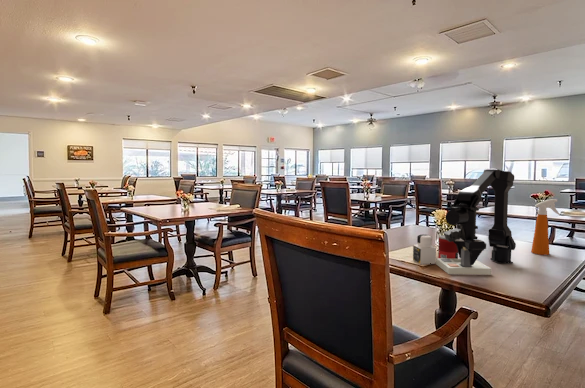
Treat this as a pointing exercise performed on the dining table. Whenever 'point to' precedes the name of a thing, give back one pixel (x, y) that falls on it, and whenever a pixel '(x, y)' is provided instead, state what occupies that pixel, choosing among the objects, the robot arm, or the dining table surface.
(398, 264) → the dining table surface
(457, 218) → the robot arm
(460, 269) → the socket board
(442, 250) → the canned food
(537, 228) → the spray bottle
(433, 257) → the medicine bottle
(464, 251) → the plug
